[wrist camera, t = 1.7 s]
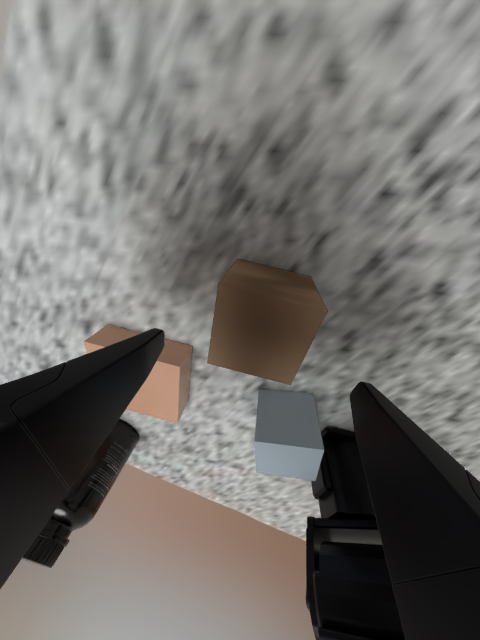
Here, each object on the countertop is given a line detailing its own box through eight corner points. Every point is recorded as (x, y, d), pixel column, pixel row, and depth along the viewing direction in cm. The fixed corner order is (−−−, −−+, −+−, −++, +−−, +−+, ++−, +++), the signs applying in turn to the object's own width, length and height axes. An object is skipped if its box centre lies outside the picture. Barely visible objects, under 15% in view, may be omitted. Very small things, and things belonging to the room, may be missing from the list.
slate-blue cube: (312, 392, 18) (324, 449, 14) (307, 424, 21) (315, 481, 16) (259, 388, 19) (254, 441, 15) (260, 419, 22) (256, 472, 17)
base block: (193, 343, 18) (180, 367, 15) (189, 398, 22) (177, 423, 19) (111, 322, 18) (84, 341, 16) (122, 379, 22) (102, 402, 20)
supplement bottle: (91, 408, 26) (-29, 541, 16) (140, 424, 26) (52, 566, 16) (97, 434, 30) (2, 555, 19) (139, 448, 30) (68, 576, 19)
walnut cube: (310, 276, 13) (327, 311, 9) (286, 335, 15) (290, 385, 11) (237, 258, 13) (218, 284, 9) (225, 320, 16) (207, 363, 11)
